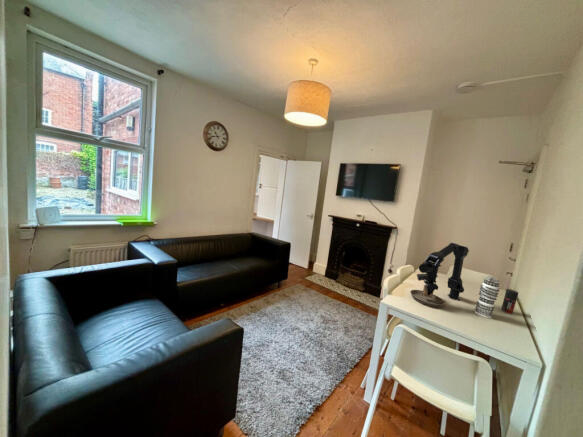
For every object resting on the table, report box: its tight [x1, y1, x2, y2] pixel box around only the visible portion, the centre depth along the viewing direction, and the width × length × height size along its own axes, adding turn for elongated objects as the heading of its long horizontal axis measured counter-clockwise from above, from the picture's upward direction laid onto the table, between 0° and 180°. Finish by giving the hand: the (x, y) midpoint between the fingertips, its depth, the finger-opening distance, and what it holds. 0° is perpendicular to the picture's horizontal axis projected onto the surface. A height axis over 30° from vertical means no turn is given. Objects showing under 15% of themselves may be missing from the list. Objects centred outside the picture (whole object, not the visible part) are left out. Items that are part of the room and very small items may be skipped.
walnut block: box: [422, 284, 435, 298], centre depth 156 cm, size 5×5×6 cm
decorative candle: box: [474, 275, 501, 319], centre depth 146 cm, size 9×9×25 cm
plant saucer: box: [409, 289, 445, 308], centre depth 157 cm, size 21×21×3 cm
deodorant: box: [500, 288, 519, 315], centre depth 155 cm, size 6×6×15 cm
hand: (427, 293), depth 157 cm, fingers closed on walnut block, 5 cm apart
